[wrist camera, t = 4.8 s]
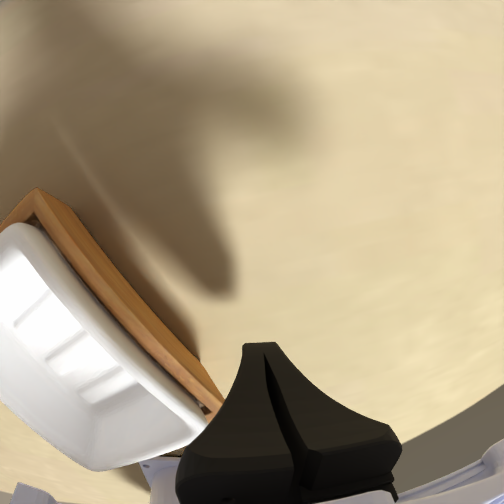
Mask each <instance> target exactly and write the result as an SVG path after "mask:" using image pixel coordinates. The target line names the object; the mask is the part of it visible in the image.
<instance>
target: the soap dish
mask: <svg viewBox="0 0 504 504" xmlns="http://www.w3.org/2000/svg"><path fill="white" fill-rule="evenodd" d="M0 400H1V401H2V402H3V403H4V404H5V405H6V406H7V407H8V408H9V409H10V410H11V411H12V412H13V413H14V414H15V415H16V416H17V417H19V418H20V419H21V420H22V421H23V422H24V423H25V424H27V425H28V426H29V427H30V428H31V429H32V430H34V431H35V432H36V433H37V434H39V435H40V436H41V437H42V438H43V439H45V440H46V441H47V442H49V443H50V444H51V445H53V446H54V447H55V448H56V449H58V450H59V451H61V452H62V453H63V454H65V455H66V456H68V457H69V458H70V459H72V460H73V461H75V462H76V463H78V464H80V465H81V466H83V467H85V468H87V469H89V470H91V471H97V472H99V471H107V470H111V469H115V468H119V467H122V466H126V465H129V464H133V463H136V462H140V461H143V460H147V459H150V458H153V457H156V456H159V455H162V454H165V453H168V452H171V451H174V450H176V449H179V448H181V447H184V446H186V445H189V444H190V443H191V442H192V441H193V440H194V439H195V438H196V437H197V436H198V435H199V434H200V433H201V432H202V431H203V430H204V429H205V428H206V426H207V425H208V424H209V423H210V422H211V420H212V419H213V418H214V417H215V415H216V414H217V412H218V411H219V409H220V408H221V406H222V405H223V403H224V401H225V399H224V398H223V396H222V395H221V393H220V392H219V390H218V389H217V387H216V386H215V384H214V382H213V381H212V379H211V378H210V376H209V375H208V373H207V371H206V370H205V368H204V367H203V366H202V364H201V363H200V362H199V361H198V358H197V357H196V356H194V355H192V354H191V353H190V352H189V351H188V349H187V348H186V347H185V346H184V345H183V344H182V343H181V342H180V341H179V340H178V339H177V338H176V336H175V335H174V334H173V333H172V332H171V331H170V330H169V329H168V328H167V327H166V326H165V324H164V323H163V322H162V321H161V320H160V319H159V318H158V317H157V316H156V314H155V313H154V312H153V311H152V310H151V309H150V308H149V307H148V305H147V304H146V303H145V302H144V301H143V300H142V298H141V297H140V296H139V295H138V294H137V292H136V291H135V290H134V289H133V288H132V287H131V285H130V284H129V283H128V282H127V281H126V279H125V278H124V277H123V276H122V274H121V273H120V272H119V271H118V269H117V268H116V267H115V266H114V265H113V263H112V262H111V261H110V259H109V258H108V257H107V256H106V254H105V253H104V252H103V251H102V249H101V248H100V247H99V245H98V244H97V243H96V241H95V240H94V239H93V237H92V236H91V235H90V233H89V232H88V231H87V229H86V228H85V227H84V225H83V224H82V223H81V221H80V219H79V218H78V217H77V216H76V214H75V213H74V211H73V210H72V209H71V208H70V207H69V206H67V205H66V204H64V203H63V202H61V201H60V200H58V199H56V198H54V197H53V196H51V195H50V194H48V193H46V192H44V191H43V190H41V189H39V188H37V187H36V188H35V189H33V190H32V191H30V192H29V193H28V194H27V195H26V196H25V197H24V198H23V199H22V200H21V202H20V203H19V204H18V205H17V206H16V207H15V208H14V209H13V210H12V212H11V213H10V214H9V215H8V216H7V217H6V218H5V220H4V221H3V222H2V223H1V225H0Z"/></svg>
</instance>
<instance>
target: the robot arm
mask: <svg viewBox="0 0 504 504" xmlns="http://www.w3.org/2000/svg"><path fill="white" fill-rule="evenodd" d="M401 452H402V445H401V443H400V442H399V440H398V438H397V436H396V435H395V433H394V432H393V430H392V429H391V427H390V426H389V425H387V424H384V423H382V422H379V421H376V420H373V419H370V418H368V417H365V416H363V415H361V414H359V413H356V412H354V411H352V410H350V409H348V408H347V407H345V406H343V405H341V404H340V403H338V402H336V401H335V400H333V399H332V398H330V397H329V396H327V395H326V394H325V393H323V392H322V391H321V390H319V389H318V388H317V387H316V386H315V385H313V384H312V383H311V382H310V381H309V380H308V379H307V378H306V377H305V376H304V375H303V374H302V373H301V372H300V371H299V370H298V369H297V368H296V367H295V366H294V364H293V363H292V362H291V361H290V360H289V359H288V357H287V356H286V355H285V354H284V352H283V351H282V350H281V348H280V347H279V346H278V344H277V343H276V342H263V343H245V344H244V345H243V346H242V359H241V363H240V367H239V370H238V373H237V376H236V378H235V381H234V383H233V386H232V388H231V390H230V392H229V394H228V396H227V398H226V399H225V401H224V403H223V405H222V406H221V408H220V409H219V411H218V412H217V414H216V415H215V417H214V418H213V419H212V420H211V422H210V423H209V424H208V425H207V426H206V428H205V429H204V430H203V431H202V432H201V433H200V434H199V435H198V436H197V437H196V438H195V439H194V440H193V441H192V442H191V443H190V444H189V445H188V446H187V447H186V448H185V450H184V452H183V455H182V457H161V456H156V457H153V458H150V459H147V460H143V461H140V462H138V463H139V465H140V467H141V469H142V471H143V474H144V476H145V478H146V480H147V482H148V484H149V486H150V488H151V495H150V504H504V439H502V440H501V441H499V442H497V443H495V444H494V445H492V446H491V447H490V448H489V449H488V450H487V451H486V452H485V453H484V455H483V456H482V458H481V459H480V460H478V461H476V462H474V463H472V464H470V465H468V466H466V467H464V468H462V469H460V470H457V471H455V472H453V473H451V474H449V475H446V476H444V477H442V478H439V479H437V480H435V481H432V482H430V483H427V484H425V485H422V486H419V487H417V488H414V489H411V490H409V491H406V492H403V493H400V494H397V493H396V491H395V488H394V486H393V484H392V482H393V481H394V477H393V475H392V472H391V470H392V469H393V467H394V466H395V464H396V462H397V461H398V459H399V457H400V455H401ZM10 504H61V503H57V502H56V500H55V499H54V498H53V497H52V496H51V495H50V494H49V493H47V492H46V491H44V490H41V489H38V488H35V487H32V486H29V485H26V484H23V483H21V482H18V483H17V486H16V488H15V491H14V494H13V496H12V499H11V502H10Z"/></svg>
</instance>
